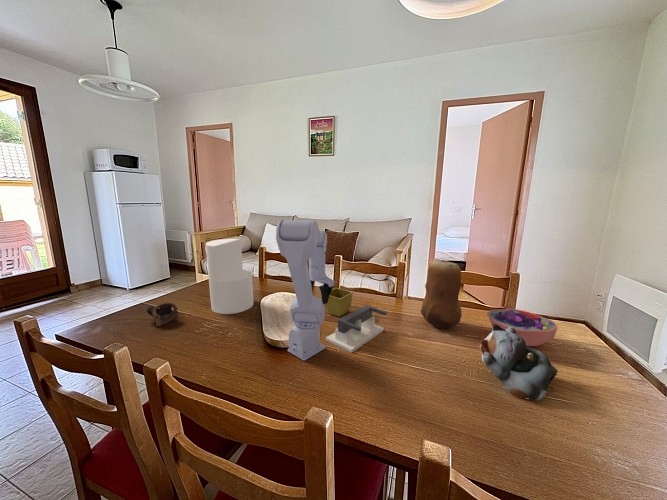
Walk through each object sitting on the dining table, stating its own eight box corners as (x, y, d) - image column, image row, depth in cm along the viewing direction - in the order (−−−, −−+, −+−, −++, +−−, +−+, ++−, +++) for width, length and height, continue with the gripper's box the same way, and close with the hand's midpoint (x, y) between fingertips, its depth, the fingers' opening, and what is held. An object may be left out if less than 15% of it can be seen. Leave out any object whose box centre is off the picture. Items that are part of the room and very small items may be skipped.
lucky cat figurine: (534, 411, 64) (505, 350, 65) (484, 395, 76) (459, 344, 77) (568, 370, 71) (541, 315, 72) (517, 362, 84) (494, 315, 84)
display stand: (351, 352, 87) (351, 334, 86) (325, 340, 94) (325, 323, 93) (383, 330, 101) (384, 314, 99) (359, 321, 108) (359, 306, 107)
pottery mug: (184, 315, 113) (183, 302, 108) (172, 335, 106) (170, 322, 100) (153, 308, 111) (150, 295, 106) (139, 328, 104) (135, 315, 99)
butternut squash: (452, 318, 111) (459, 257, 105) (464, 335, 98) (473, 267, 92) (417, 316, 112) (421, 256, 107) (424, 333, 99) (430, 265, 94)
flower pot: (340, 320, 108) (340, 298, 106) (322, 314, 114) (322, 293, 112) (352, 312, 115) (353, 292, 113) (335, 307, 120) (336, 287, 118)
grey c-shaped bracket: (358, 340, 86) (359, 328, 85) (337, 330, 91) (337, 319, 90) (386, 322, 97) (386, 311, 97) (366, 315, 103) (366, 304, 102)
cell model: (566, 359, 84) (573, 325, 82) (494, 351, 88) (499, 319, 86) (538, 332, 100) (543, 303, 98) (478, 326, 104) (482, 298, 102)
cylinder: (202, 310, 116) (195, 244, 110) (228, 295, 132) (224, 237, 126) (237, 316, 111) (232, 247, 105) (261, 300, 127) (257, 240, 121)
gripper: (340, 266, 96) (339, 302, 99) (311, 258, 105) (311, 292, 109) (326, 270, 91) (326, 309, 94) (296, 262, 100) (297, 297, 103)
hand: (317, 300), depth 101 cm, fingers open, 7 cm apart
